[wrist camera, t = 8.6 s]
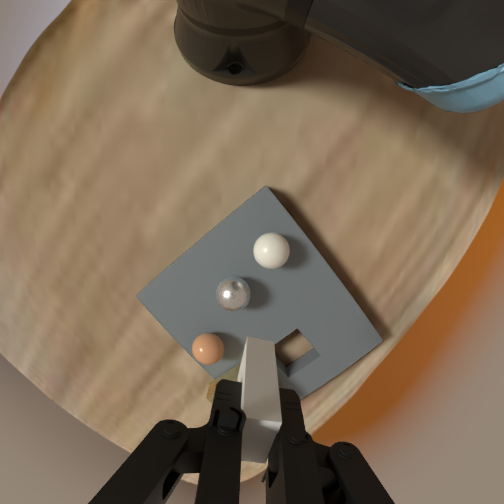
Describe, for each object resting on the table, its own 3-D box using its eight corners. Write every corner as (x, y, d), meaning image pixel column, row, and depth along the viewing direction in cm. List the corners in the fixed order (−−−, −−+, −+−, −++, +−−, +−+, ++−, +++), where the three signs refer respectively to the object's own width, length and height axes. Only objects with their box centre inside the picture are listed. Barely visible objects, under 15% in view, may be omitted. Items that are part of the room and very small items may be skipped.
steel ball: (210, 286, 32) (206, 297, 29) (236, 265, 32) (234, 274, 28) (232, 310, 33) (230, 323, 29) (257, 291, 32) (258, 302, 29)
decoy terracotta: (188, 338, 33) (182, 353, 30) (211, 321, 33) (207, 335, 29) (209, 360, 34) (205, 376, 30) (232, 343, 33) (230, 359, 30)
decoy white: (246, 245, 31) (245, 251, 28) (273, 223, 31) (275, 227, 27) (267, 271, 32) (269, 280, 28) (294, 249, 31) (299, 257, 28)
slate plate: (142, 289, 35) (135, 296, 32) (265, 185, 33) (266, 185, 30) (262, 410, 38) (262, 422, 36) (375, 331, 36) (383, 340, 33)
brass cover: (209, 383, 34) (206, 398, 31) (249, 356, 33) (249, 370, 30) (242, 413, 35) (242, 429, 32) (282, 389, 34) (284, 404, 31)
